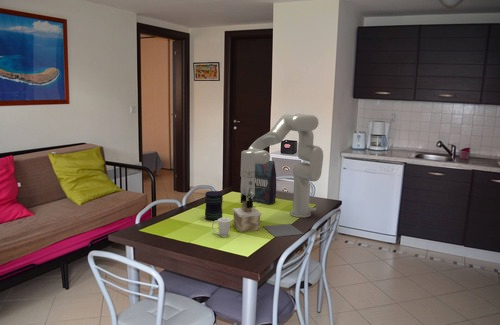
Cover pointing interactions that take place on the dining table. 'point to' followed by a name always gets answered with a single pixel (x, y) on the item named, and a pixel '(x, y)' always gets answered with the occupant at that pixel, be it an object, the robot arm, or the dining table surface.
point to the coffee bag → (265, 183)
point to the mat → (282, 230)
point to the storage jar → (213, 205)
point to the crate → (246, 223)
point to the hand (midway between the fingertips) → (246, 205)
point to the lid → (246, 211)
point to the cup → (223, 226)
